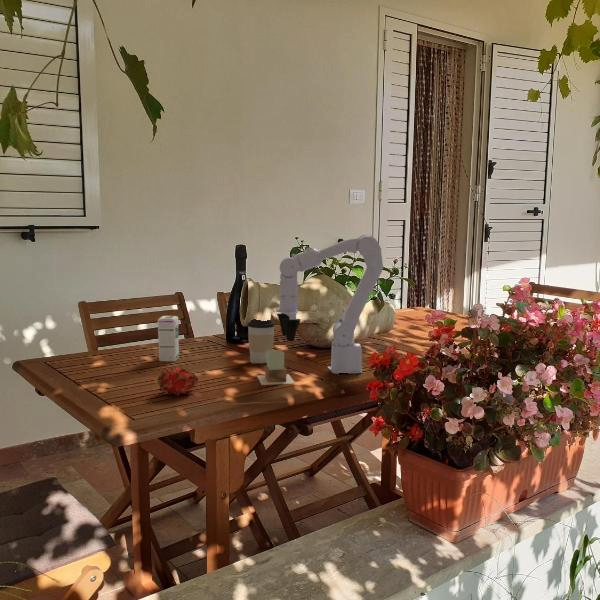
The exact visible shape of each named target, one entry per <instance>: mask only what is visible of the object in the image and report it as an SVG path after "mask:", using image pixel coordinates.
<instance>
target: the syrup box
mask: <svg viewBox="0 0 600 600" xmlns="http://www.w3.org/2000/svg"><path fill="white" fill-rule="evenodd" d="M179 330H180V329H179V316H177V315H162V316H161V317H159V318H158V319H157V333H158V334H157V336H158V337H157V339H158V361H159V362H176V361H177V360H178V359H180V340H179V338H180V336H179V335H180V334H179V332H180V331H179Z"/></svg>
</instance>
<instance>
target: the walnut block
mask: <svg viewBox="0 0 600 600" xmlns="http://www.w3.org/2000/svg"><path fill="white" fill-rule="evenodd" d="M264 369H265V370H264V371H265V374H264V375H265V378H266V380H267V381H268V382H286V374H287V368H286V367H285V366H284V370H269V369H268V367H267V365H265V366H264Z"/></svg>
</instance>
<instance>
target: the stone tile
mask: <svg viewBox="0 0 600 600" xmlns="http://www.w3.org/2000/svg"><path fill="white" fill-rule="evenodd" d="M256 378H257V379H258V381H259V383H260V384H261V386H266V385H269V386H270V385H271V386H272V385H289V384H290V385H291V384H294V385H295V384H296V382H295V381H294V379H293V378H292V376H291V375H290V374H289V373H286V382H268V381H267V380H266V378H265V374H263V375H256Z"/></svg>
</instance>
